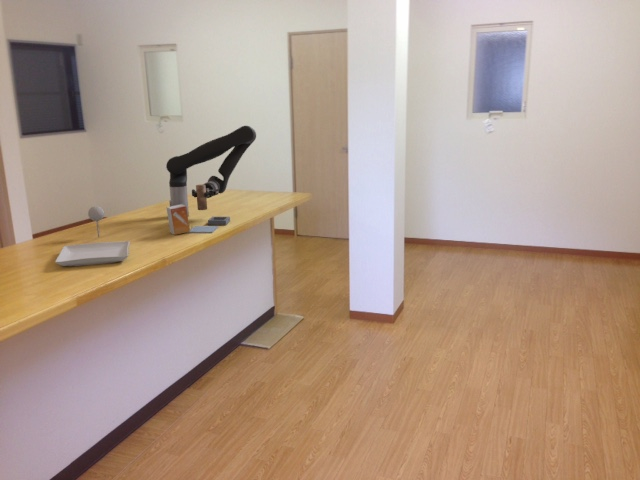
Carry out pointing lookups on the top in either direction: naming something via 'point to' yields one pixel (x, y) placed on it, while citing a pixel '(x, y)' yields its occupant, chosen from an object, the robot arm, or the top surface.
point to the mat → (203, 229)
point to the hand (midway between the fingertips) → (199, 195)
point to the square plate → (93, 253)
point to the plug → (201, 197)
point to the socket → (218, 220)
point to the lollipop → (96, 215)
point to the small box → (178, 219)
